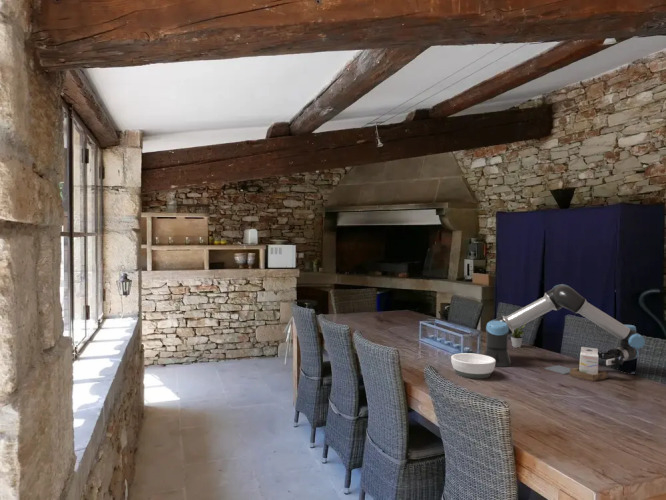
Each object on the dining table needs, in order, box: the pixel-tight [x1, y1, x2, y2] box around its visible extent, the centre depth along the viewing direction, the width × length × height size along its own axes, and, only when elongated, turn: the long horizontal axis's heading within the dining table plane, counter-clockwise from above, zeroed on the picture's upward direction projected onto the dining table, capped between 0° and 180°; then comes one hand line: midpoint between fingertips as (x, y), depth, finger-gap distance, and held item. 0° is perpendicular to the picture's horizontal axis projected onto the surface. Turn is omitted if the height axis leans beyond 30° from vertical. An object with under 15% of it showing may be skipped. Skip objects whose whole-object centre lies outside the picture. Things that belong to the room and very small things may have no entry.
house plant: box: [510, 324, 526, 348], centre depth 323 cm, size 14×14×16 cm
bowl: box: [450, 352, 496, 380], centre depth 257 cm, size 22×22×8 cm
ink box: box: [578, 346, 600, 375], centre depth 255 cm, size 9×5×15 cm, turn 62°
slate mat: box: [543, 364, 571, 375], centre depth 267 cm, size 12×12×1 cm
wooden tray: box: [569, 367, 608, 382], centre depth 255 cm, size 12×12×3 cm
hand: (593, 359), depth 256 cm, fingers open, 13 cm apart
